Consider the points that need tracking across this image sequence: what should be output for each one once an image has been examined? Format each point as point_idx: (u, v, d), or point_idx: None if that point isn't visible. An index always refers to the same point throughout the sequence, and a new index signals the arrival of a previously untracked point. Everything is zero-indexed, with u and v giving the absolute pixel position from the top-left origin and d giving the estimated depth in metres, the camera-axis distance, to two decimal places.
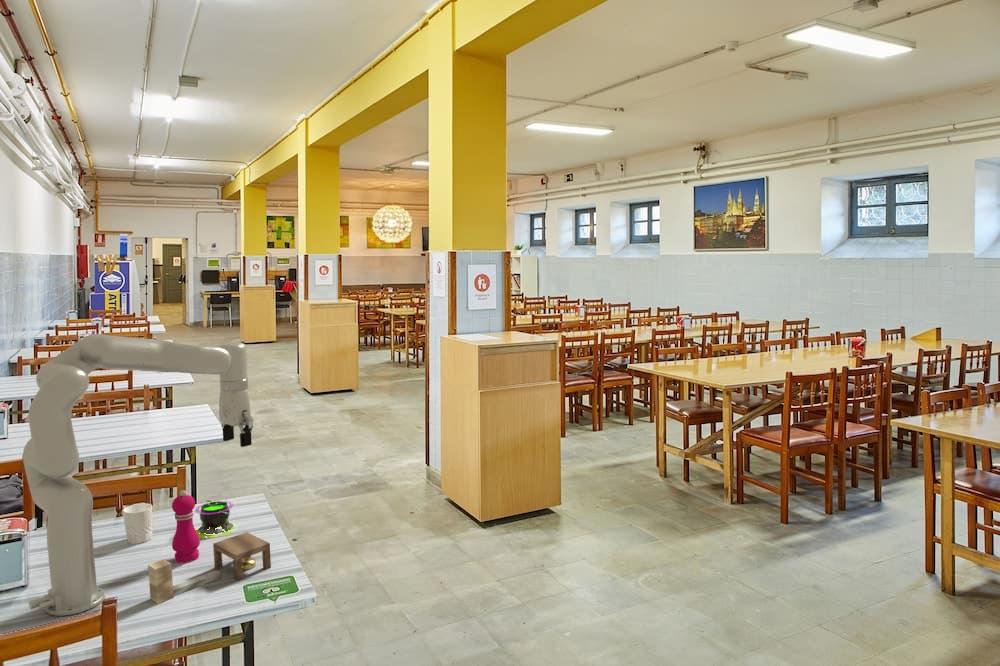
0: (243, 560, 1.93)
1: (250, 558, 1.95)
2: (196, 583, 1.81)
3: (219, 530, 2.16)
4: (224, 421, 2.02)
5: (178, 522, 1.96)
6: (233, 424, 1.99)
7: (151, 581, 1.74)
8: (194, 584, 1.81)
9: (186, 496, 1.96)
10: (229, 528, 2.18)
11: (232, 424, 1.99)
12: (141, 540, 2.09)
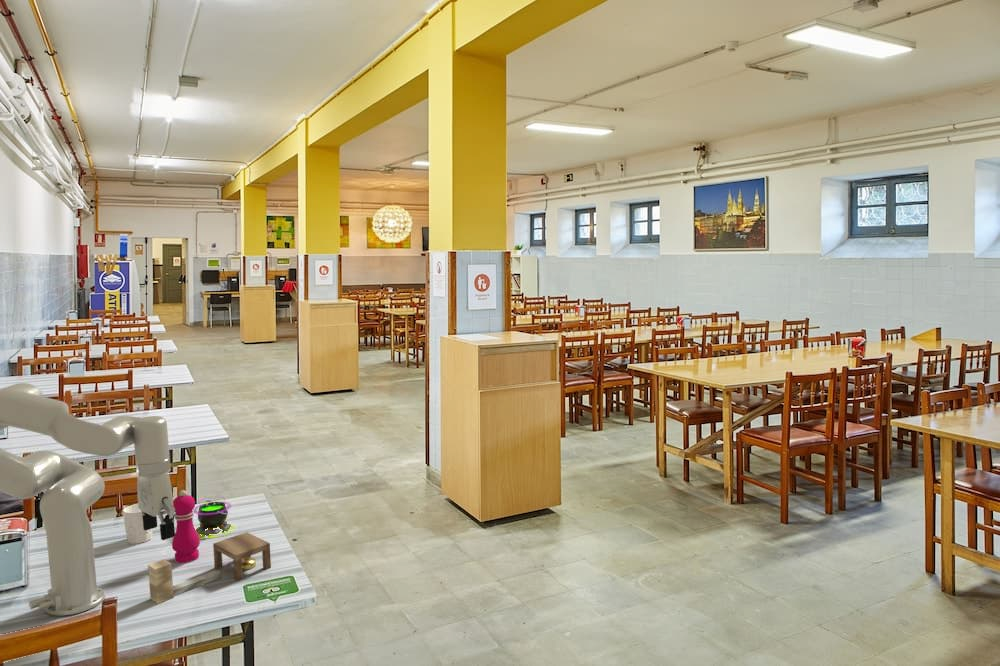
0: (243, 560, 1.93)
1: (250, 558, 1.95)
2: (196, 583, 1.81)
3: (217, 530, 2.16)
4: (142, 509, 1.72)
5: (178, 522, 1.96)
6: (151, 514, 1.69)
7: (151, 581, 1.74)
8: (194, 584, 1.81)
9: (186, 496, 1.96)
10: (227, 528, 2.17)
11: (150, 514, 1.69)
12: (141, 540, 2.09)
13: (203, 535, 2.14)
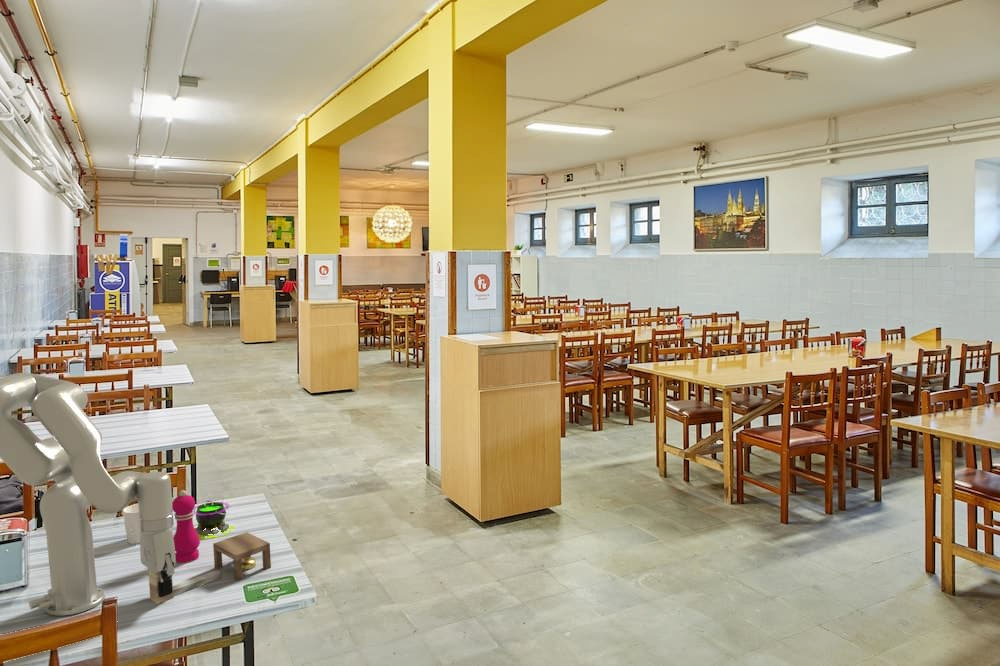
0: (243, 560, 1.93)
1: (250, 558, 1.95)
2: (196, 583, 1.81)
3: (215, 531, 2.15)
4: (145, 564, 1.73)
5: (178, 522, 1.96)
6: (154, 570, 1.70)
7: (151, 581, 1.74)
8: (194, 584, 1.81)
9: (186, 496, 1.96)
10: (225, 529, 2.17)
11: (153, 570, 1.71)
12: None
13: (201, 535, 2.14)
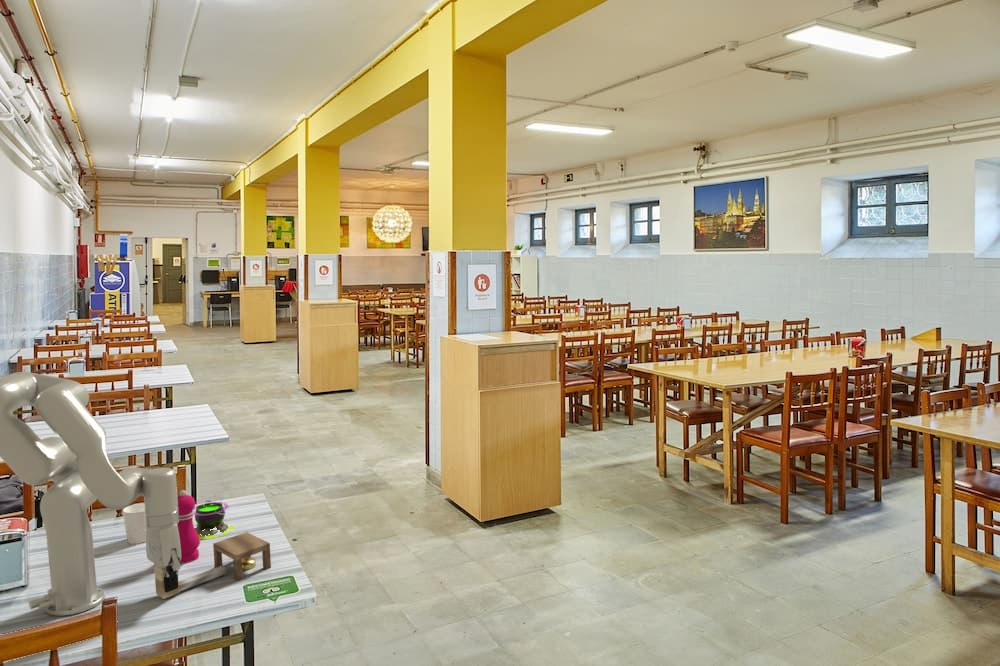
0: (243, 560, 1.93)
1: (250, 558, 1.95)
2: (201, 579, 1.82)
3: (214, 531, 2.15)
4: (151, 559, 1.74)
5: (178, 522, 1.96)
6: (160, 565, 1.71)
7: (157, 576, 1.75)
8: (199, 579, 1.82)
9: (186, 496, 1.96)
10: (224, 529, 2.17)
11: (159, 565, 1.72)
12: (141, 540, 2.09)
13: (200, 536, 2.14)
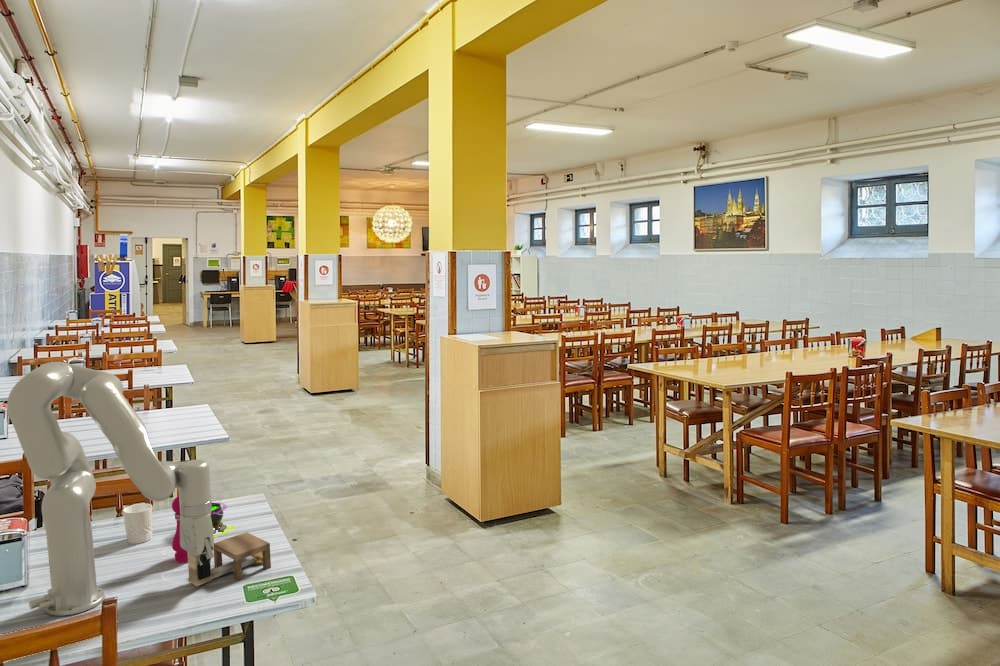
0: (258, 554, 1.97)
1: None
2: (232, 567, 1.89)
3: None
4: (184, 548, 1.81)
5: (178, 522, 1.96)
6: (194, 553, 1.78)
7: (190, 564, 1.81)
8: (230, 568, 1.88)
9: None
10: (223, 529, 2.17)
11: (193, 553, 1.78)
12: (141, 540, 2.09)
13: None
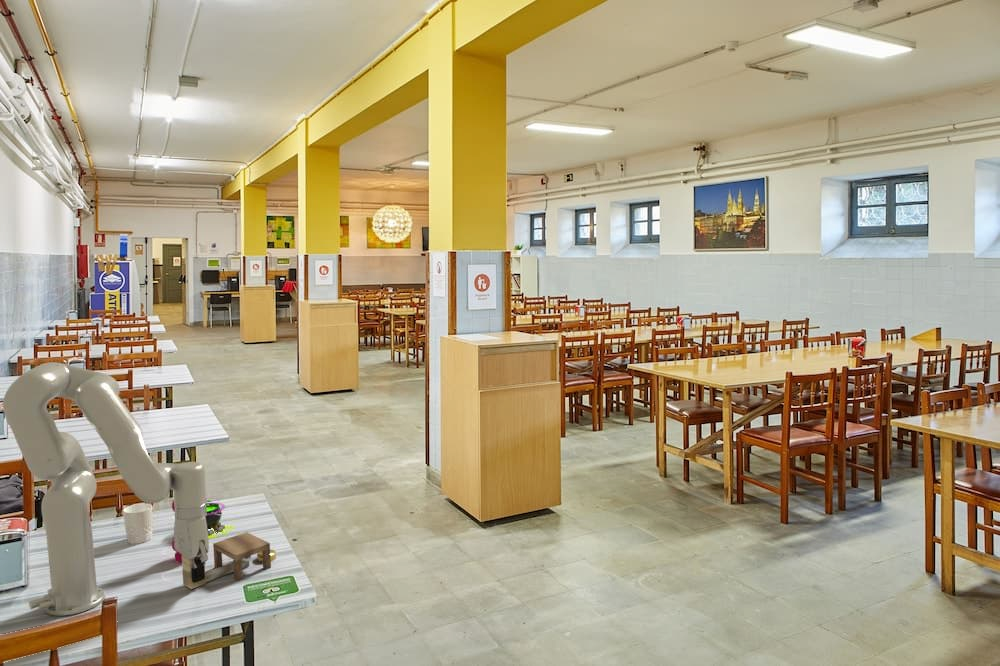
0: None
1: (271, 550, 1.99)
2: (226, 570, 1.88)
3: (211, 532, 2.15)
4: (179, 551, 1.80)
5: None
6: (188, 556, 1.77)
7: (185, 567, 1.80)
8: (224, 571, 1.87)
9: None
10: (221, 530, 2.16)
11: (187, 556, 1.77)
12: (141, 540, 2.09)
13: None
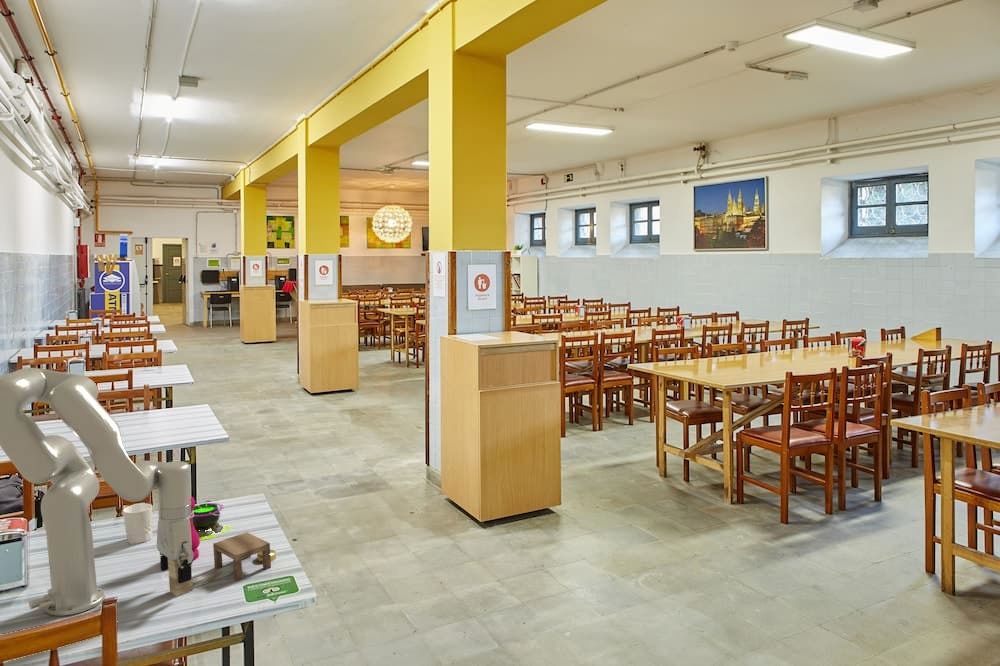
0: None
1: (271, 550, 1.99)
2: (214, 576, 1.85)
3: (209, 532, 2.14)
4: (161, 551, 1.77)
5: None
6: (170, 557, 1.74)
7: (171, 574, 1.78)
8: (212, 577, 1.84)
9: None
10: (219, 530, 2.16)
11: (169, 557, 1.74)
12: (141, 540, 2.09)
13: None
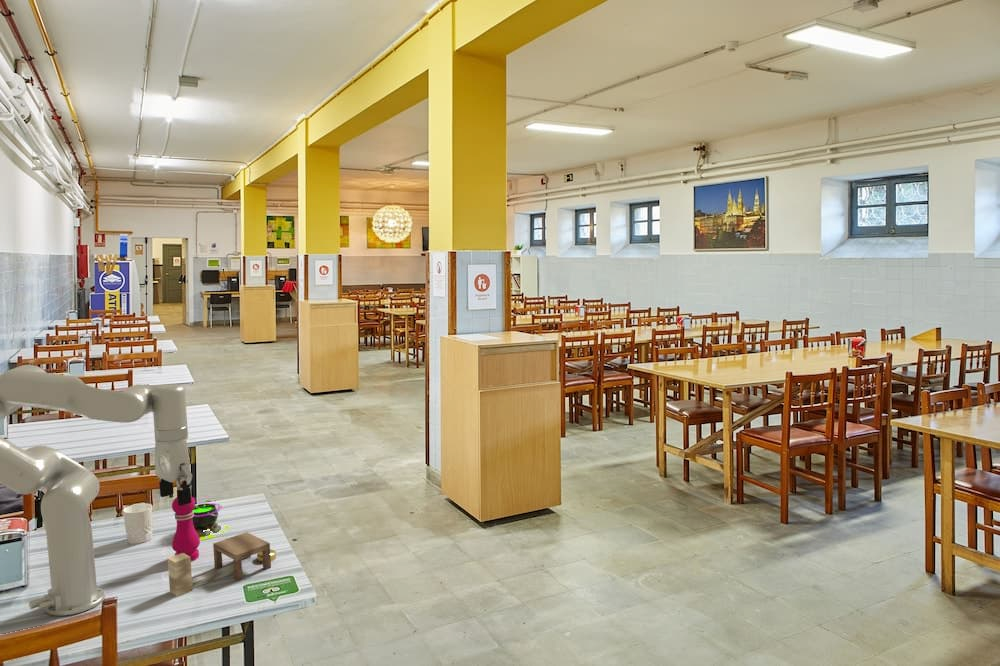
0: None
1: (271, 550, 1.99)
2: (214, 576, 1.85)
3: (207, 532, 2.14)
4: (160, 475, 1.75)
5: (178, 522, 1.96)
6: (169, 480, 1.72)
7: (171, 574, 1.78)
8: (212, 577, 1.85)
9: None
10: (217, 530, 2.16)
11: (168, 480, 1.72)
12: (141, 540, 2.09)
13: None
